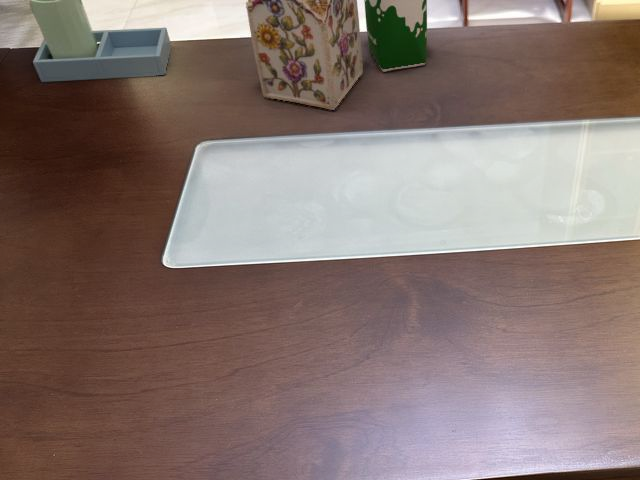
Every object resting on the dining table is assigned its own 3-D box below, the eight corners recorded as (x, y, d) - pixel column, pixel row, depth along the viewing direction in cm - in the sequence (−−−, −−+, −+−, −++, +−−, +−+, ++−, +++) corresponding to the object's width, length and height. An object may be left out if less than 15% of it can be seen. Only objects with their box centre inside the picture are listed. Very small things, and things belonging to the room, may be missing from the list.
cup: (63, 74, 107) (34, 6, 99) (49, 56, 110) (20, -11, 103) (107, 62, 109) (83, -6, 102) (92, 45, 113) (68, -22, 105)
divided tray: (41, 82, 107) (32, 62, 104) (54, 52, 113) (46, 32, 110) (165, 75, 109) (159, 55, 107) (171, 46, 115) (166, 27, 113)
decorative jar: (335, 113, 103) (319, -17, 90) (261, 99, 105) (234, -31, 92) (365, 74, 111) (355, -52, 97) (296, 61, 113) (276, -64, 99)
